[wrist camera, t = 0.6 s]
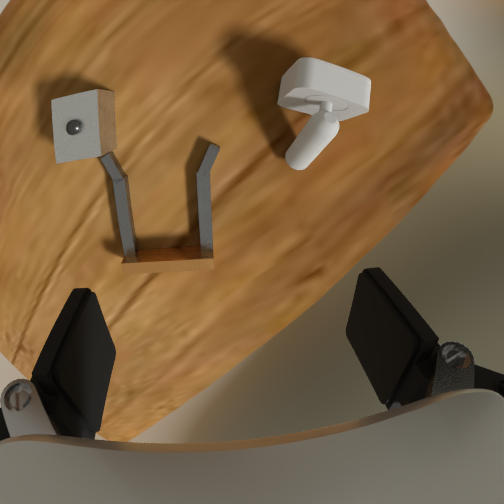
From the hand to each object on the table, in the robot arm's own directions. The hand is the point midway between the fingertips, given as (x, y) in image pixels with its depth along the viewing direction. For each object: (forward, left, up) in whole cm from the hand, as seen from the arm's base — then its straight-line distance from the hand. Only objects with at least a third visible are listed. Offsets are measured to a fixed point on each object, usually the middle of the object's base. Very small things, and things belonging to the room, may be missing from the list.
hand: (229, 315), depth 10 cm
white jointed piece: (-5, +11, -28) cm, 30 cm away
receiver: (+6, -6, -27) cm, 29 cm away
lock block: (-6, -14, -28) cm, 32 cm away
